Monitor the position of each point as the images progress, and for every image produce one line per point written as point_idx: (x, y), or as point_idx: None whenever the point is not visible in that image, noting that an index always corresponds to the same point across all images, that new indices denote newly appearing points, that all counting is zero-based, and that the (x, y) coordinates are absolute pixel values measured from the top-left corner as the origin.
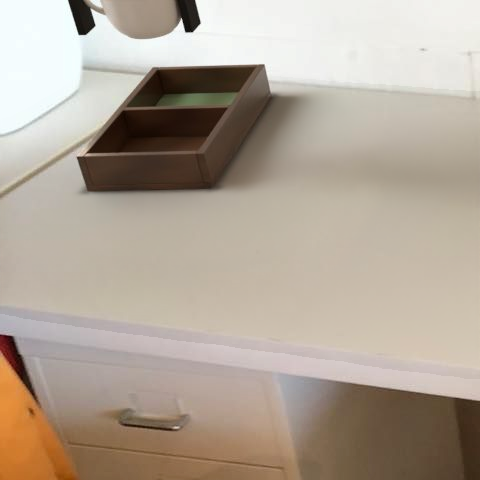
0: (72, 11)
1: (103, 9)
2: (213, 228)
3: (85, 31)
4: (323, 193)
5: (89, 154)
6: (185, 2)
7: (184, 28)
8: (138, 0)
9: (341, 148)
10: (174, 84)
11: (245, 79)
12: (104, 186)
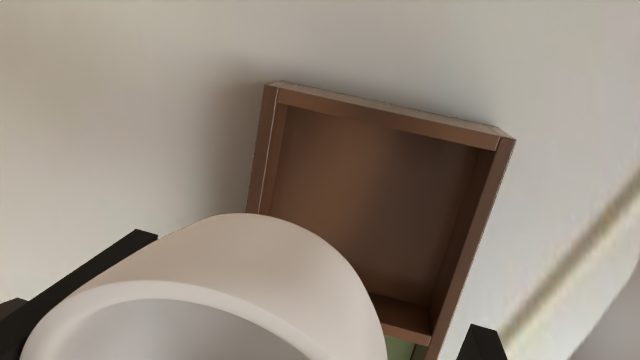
0: None
1: (384, 341)
2: None
3: (471, 334)
4: (106, 13)
5: (489, 143)
6: (72, 274)
7: (150, 241)
8: (191, 241)
9: (107, 181)
10: None
11: None
12: (466, 121)
